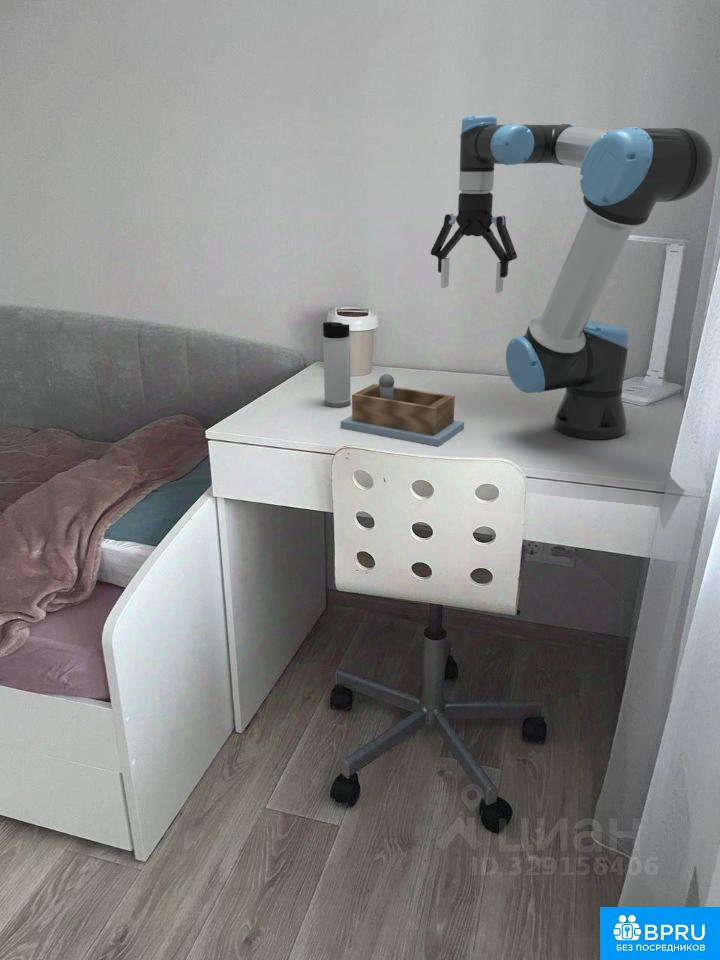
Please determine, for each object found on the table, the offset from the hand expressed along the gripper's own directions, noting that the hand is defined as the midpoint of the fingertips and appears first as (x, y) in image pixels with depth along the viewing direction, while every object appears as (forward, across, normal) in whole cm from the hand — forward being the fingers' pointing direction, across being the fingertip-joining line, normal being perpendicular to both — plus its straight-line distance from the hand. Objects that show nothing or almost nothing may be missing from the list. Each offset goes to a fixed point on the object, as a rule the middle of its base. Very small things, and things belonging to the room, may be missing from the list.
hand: (471, 289), depth 184 cm
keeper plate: (+27, +4, +26) cm, 37 cm away
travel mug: (+27, +26, +18) cm, 42 cm away
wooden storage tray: (+25, +4, +26) cm, 36 cm away
